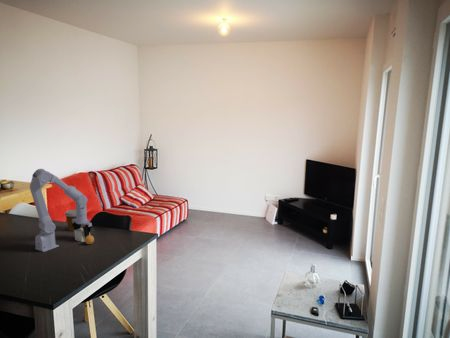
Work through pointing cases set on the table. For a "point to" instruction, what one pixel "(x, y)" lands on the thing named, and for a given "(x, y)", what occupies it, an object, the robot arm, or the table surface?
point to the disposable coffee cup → (70, 219)
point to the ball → (89, 239)
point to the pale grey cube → (80, 235)
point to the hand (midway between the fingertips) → (82, 235)
